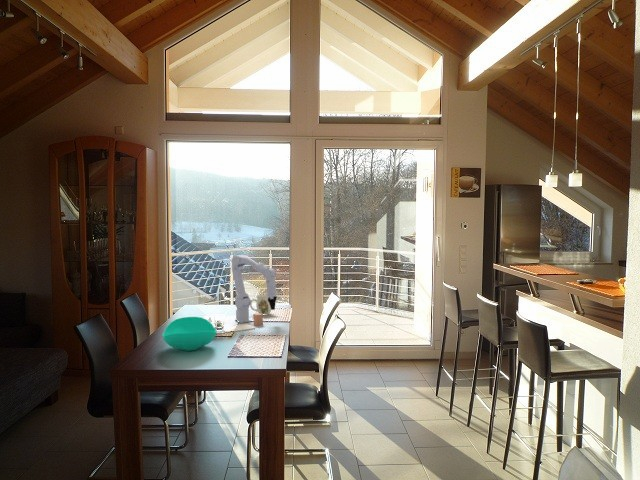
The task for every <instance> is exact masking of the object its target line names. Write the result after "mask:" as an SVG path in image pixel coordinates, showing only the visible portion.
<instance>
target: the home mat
mask: <svg viewBox="0 0 640 480" xmlns="http://www.w3.org/2000/svg"><path fill="white" fill-rule="evenodd" d="M236 325H237V326H236V328H235V330H234V332H233V333H236V332H243V331H250V330H255V329H256V327H254V326H252V325H250V324H248V323H241V324H236Z"/></svg>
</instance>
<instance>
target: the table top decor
mask: <svg viewBox="0 0 640 480" xmlns="http://www.w3.org/2000/svg"><path fill="white" fill-rule="evenodd" d="M216 335H217V330H216V328H215V327H214V325H213V324H212V323H211V322H210V321H209V320H208V319H206V318H203V317H200V316H187V317H186V316H185V317H179V318H177V319H174V320H173V321H171V322H170V323H169V324H168V325H167V326H166V327H165V330H164V331H163V333H162V338H163V341H164V343H166V344H167V345H168V346H169V347H171V348H175V349H177V350H180V351H186V352H191V351H196V350H198V349H200V348H203V347H205V346H207V345H208V344H210V343H211V342H212V341H213V340H214V339H215V338H216Z"/></svg>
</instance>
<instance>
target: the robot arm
mask: <svg viewBox="0 0 640 480" xmlns="http://www.w3.org/2000/svg"><path fill="white" fill-rule="evenodd" d="M230 261H231V272H232V276H233V277H232V278H233V281H234V285H235V291H236V295H235V298H234V299H235V301H234V305H235V308H236V310H235V317H236V318H235V320H236V319H237V320H238V321H239V322H238V323H239V324H240V323H241V324H244V323H249V322H250V323H251V322H252V320H251V319H250V313H249V311H250V309H249V308H250V304H251V300H252V299H250V297H249V294H248V293H247V292H246V289H245V285H244V280H243V279H244V278H243V275H242V271H241V269H242V268H243V267H244V266H245V265H248V266H251V267H253V268H254V269H255V270H256V272H258V273H260V274H261V275H263V277H264V278H265V281H266V282H265V283H266V295H267V296H268V301H269V304H270V307H271V311H273V310H274V311H275V309H276V301H277V298H278V295H279V293H277V289H276V288H277V287H276V285H277V284H276V276H277V270H276V269H275V268H274V267H271V268H270V266H268V265H266V264H264V263H263V262H260V263H258V262H257V261H255V260H253V259H252V258H251V257H249V256H248V255H247V254H239V255H234V256H233V257H232V258H231V260H230Z"/></svg>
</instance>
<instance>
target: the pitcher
mask: <svg viewBox="0 0 640 480" xmlns="http://www.w3.org/2000/svg"><path fill="white" fill-rule="evenodd" d="M250 300H251V304H250V305H249V308H250V309H251V310H252V311H253V312H257V313H261V314H269V315H270V314H271V311H272V310H271V307H270V304H269V301H268V296H267V294H259V295H256V298H252V299H250ZM253 302H255V303H256V308H254V306H252V304H253Z"/></svg>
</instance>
